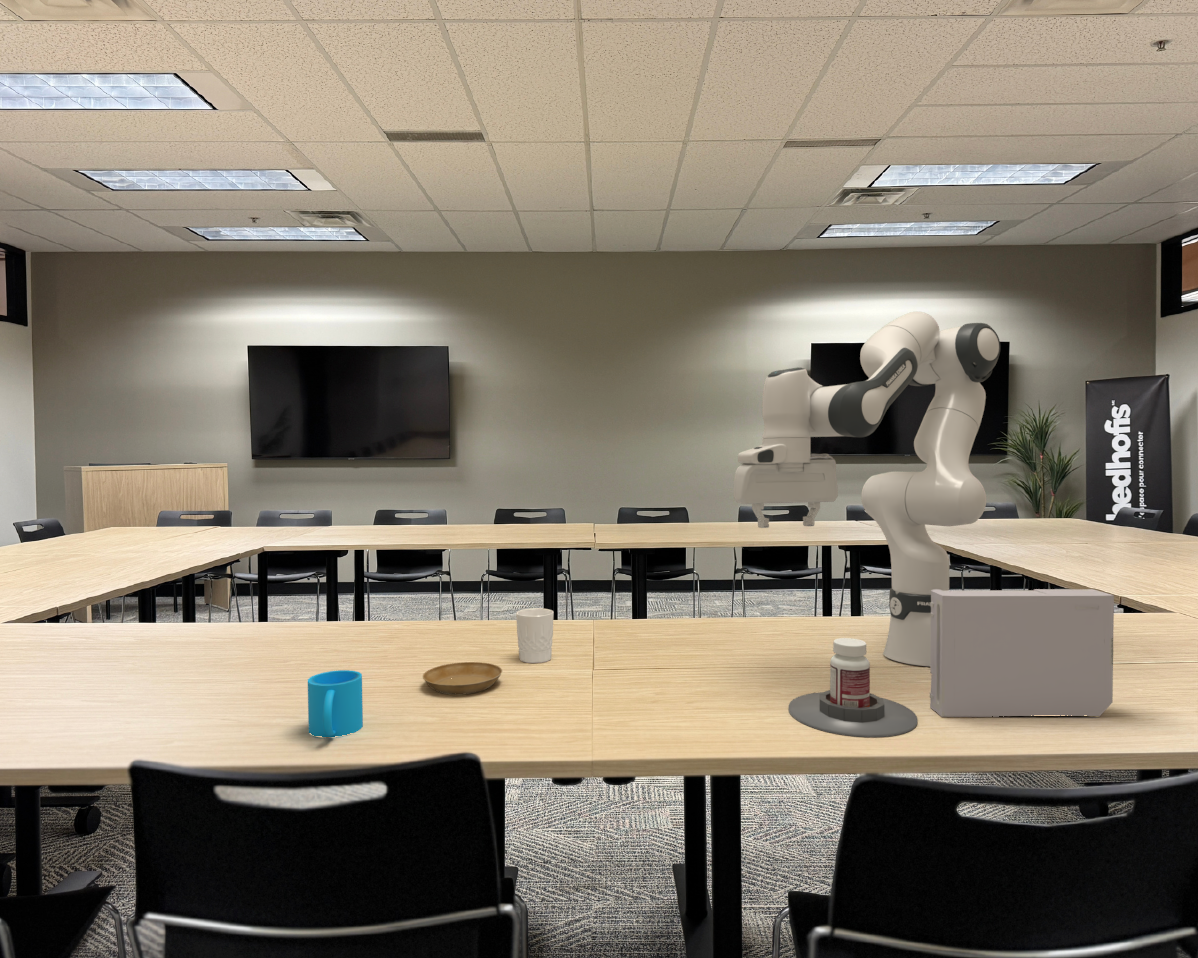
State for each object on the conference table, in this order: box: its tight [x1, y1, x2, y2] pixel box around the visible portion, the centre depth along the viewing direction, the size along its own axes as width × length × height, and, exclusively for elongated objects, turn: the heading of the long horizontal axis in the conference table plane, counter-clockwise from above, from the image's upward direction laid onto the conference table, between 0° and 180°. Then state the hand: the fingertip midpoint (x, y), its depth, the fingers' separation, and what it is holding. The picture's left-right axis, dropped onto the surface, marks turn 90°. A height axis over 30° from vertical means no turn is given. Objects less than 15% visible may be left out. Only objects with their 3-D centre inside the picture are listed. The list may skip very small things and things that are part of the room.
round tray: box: [788, 689, 918, 738], centre depth 121 cm, size 20×20×2 cm
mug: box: [307, 669, 364, 737], centre depth 115 cm, size 12×8×8 cm
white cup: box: [515, 607, 554, 664], centre depth 156 cm, size 8×8×10 cm
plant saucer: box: [422, 661, 503, 695], centre depth 138 cm, size 15×15×3 cm
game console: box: [929, 588, 1115, 718], centre depth 121 cm, size 6×27×20 cm, turn 88°
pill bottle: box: [829, 637, 871, 708], centre depth 121 cm, size 6×6×11 cm
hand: (786, 526), depth 139 cm, fingers open, 8 cm apart
